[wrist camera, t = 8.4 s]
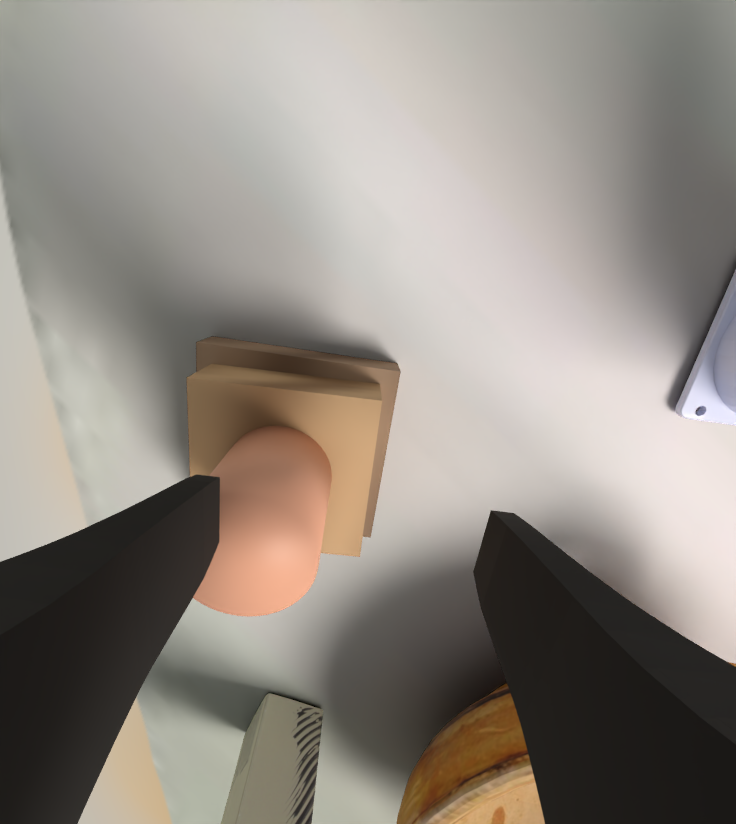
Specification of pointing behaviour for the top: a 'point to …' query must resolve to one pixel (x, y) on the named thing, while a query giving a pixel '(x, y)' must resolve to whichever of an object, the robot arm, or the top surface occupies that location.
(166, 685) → the top surface
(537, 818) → the wooden bowl
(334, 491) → the top block
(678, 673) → the robot arm
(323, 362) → the bottom block
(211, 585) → the peach capsule
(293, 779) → the box
